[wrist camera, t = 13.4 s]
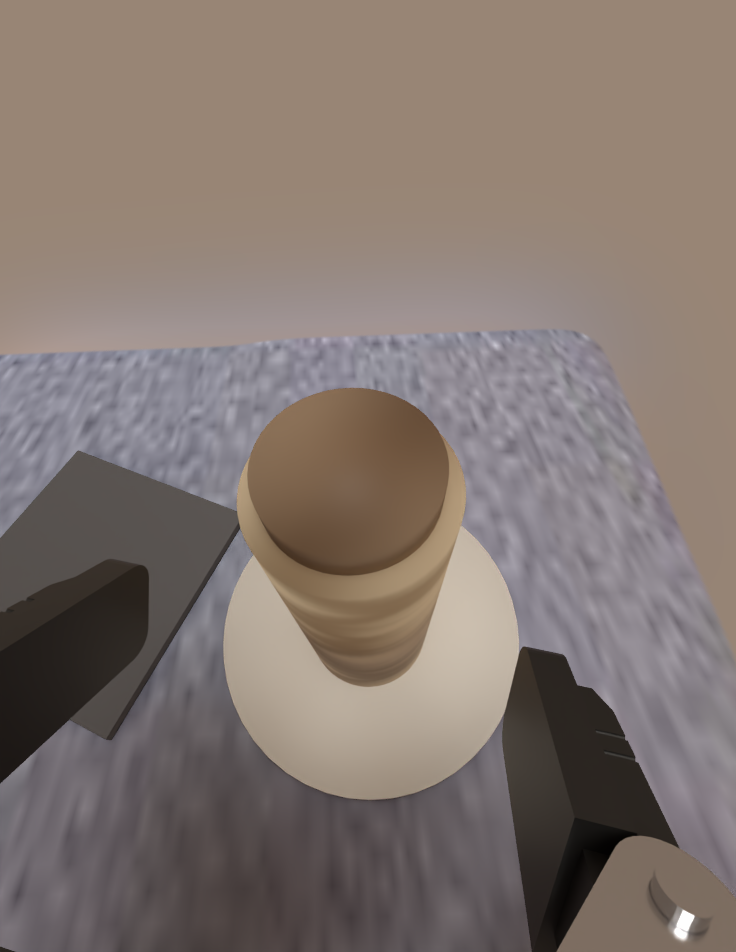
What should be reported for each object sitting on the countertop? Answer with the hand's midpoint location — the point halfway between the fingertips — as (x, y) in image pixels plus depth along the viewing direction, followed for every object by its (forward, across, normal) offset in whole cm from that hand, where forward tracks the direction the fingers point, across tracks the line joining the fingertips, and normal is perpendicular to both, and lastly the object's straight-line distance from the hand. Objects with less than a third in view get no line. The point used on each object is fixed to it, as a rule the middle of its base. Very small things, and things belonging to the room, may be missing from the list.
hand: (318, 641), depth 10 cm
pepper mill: (+11, 0, +6) cm, 13 cm away
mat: (+12, +15, +7) cm, 21 cm away
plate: (+12, 0, +7) cm, 14 cm away
